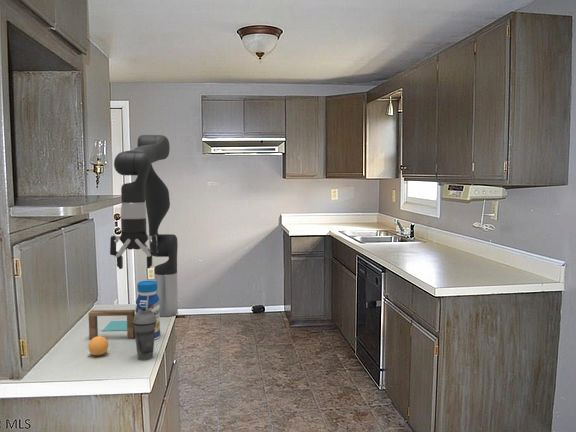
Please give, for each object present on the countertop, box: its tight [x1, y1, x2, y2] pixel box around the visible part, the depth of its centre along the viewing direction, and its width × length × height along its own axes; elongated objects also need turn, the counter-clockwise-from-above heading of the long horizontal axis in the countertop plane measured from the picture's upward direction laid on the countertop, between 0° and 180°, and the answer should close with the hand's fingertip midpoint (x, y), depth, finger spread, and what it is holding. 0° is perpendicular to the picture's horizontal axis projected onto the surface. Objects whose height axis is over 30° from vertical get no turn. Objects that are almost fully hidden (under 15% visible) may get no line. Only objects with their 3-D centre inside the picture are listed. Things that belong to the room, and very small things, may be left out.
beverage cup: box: [133, 295, 157, 361], centre depth 151 cm, size 7×7×20 cm
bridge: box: [88, 309, 136, 341], centre depth 170 cm, size 3×15×10 cm, turn 95°
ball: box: [87, 335, 109, 357], centre depth 154 cm, size 6×6×6 cm
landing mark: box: [101, 320, 127, 332], centre depth 184 cm, size 12×12×1 cm
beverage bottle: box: [134, 280, 161, 341], centre depth 170 cm, size 8×8×20 cm
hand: (134, 268), depth 151 cm, fingers open, 8 cm apart
